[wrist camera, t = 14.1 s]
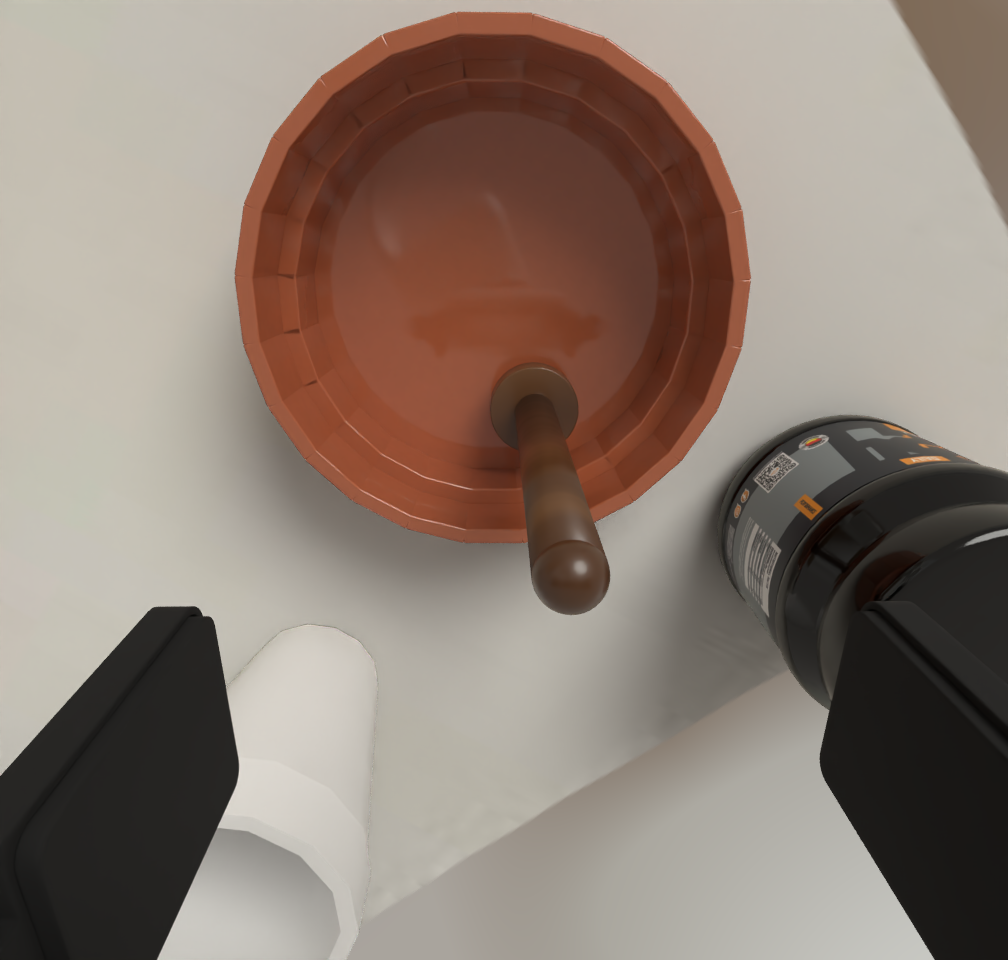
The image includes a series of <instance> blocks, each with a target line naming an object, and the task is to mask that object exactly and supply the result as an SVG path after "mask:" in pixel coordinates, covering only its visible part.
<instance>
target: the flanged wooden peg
mask: <svg viewBox="0 0 1008 960" xmlns="http://www.w3.org/2000/svg"><path fill="white" fill-rule="evenodd" d="M490 416H491V422H492V425H493V427H494V429H495V431H496V433H497V435H498V436H499V437H500V438H501V440H502V441H503V442H505V443H506V444H507V445H508V446H510V447H512V448H514V449H516V450H518V451H519V460H520V469H521V479H522V489H523V499H524V509H525V519H526V529H527V538H528V548H529V558H530V568H531V578H532V584H533V587H534V590H535V592H536V594H537V596H538V598H539V599H540V600H541V601H542V602H543V603H544V604H545V605H546V606H547V607H548V608H550V609H551V610H553V611H555V612H558V613H561V614H565V615H578V614H582V613H585V612H587V611H590V610H591V609H593V608H594V607H596V606H597V605H598V604H599V603H600V602H601V601H602V599H603V598H604V596H605V595H606V592H607V590H608V587H609V583H610V569H609V565H608V561H607V558H606V556H605V553H604V550H603V547H602V544H601V541H600V538H599V535H598V532H597V530H596V527H595V524H594V521H593V518H592V515H591V512H590V509H589V507H588V504H587V501H586V498H585V495H584V492H583V489H582V486H581V484H580V481H579V478H578V475H577V472H576V469H575V466H574V463H573V461H572V458H571V455H570V452H569V449H568V446H567V443H566V439H567V438H568V437H569V436H570V434H571V433H572V431H573V429H574V427H575V425H576V422H577V419H578V400H577V396H576V394H575V391H574V389H573V387H572V385H571V384H570V382H569V380H568V379H567V378H566V377H565V375H564V374H562V373H561V372H560V371H559V370H557V369H556V368H554V367H552V366H550V365H547V364H544V363H537V362H529V363H523V364H520V365H517V366H515V367H513V368H511V369H510V370H508V371H507V372H506V373H505V374H503V375H502V377H501V378H500V379H499V380H498V382H497V383H496V385H495V387H494V389H493V392H492V396H491V403H490Z"/></svg>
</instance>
